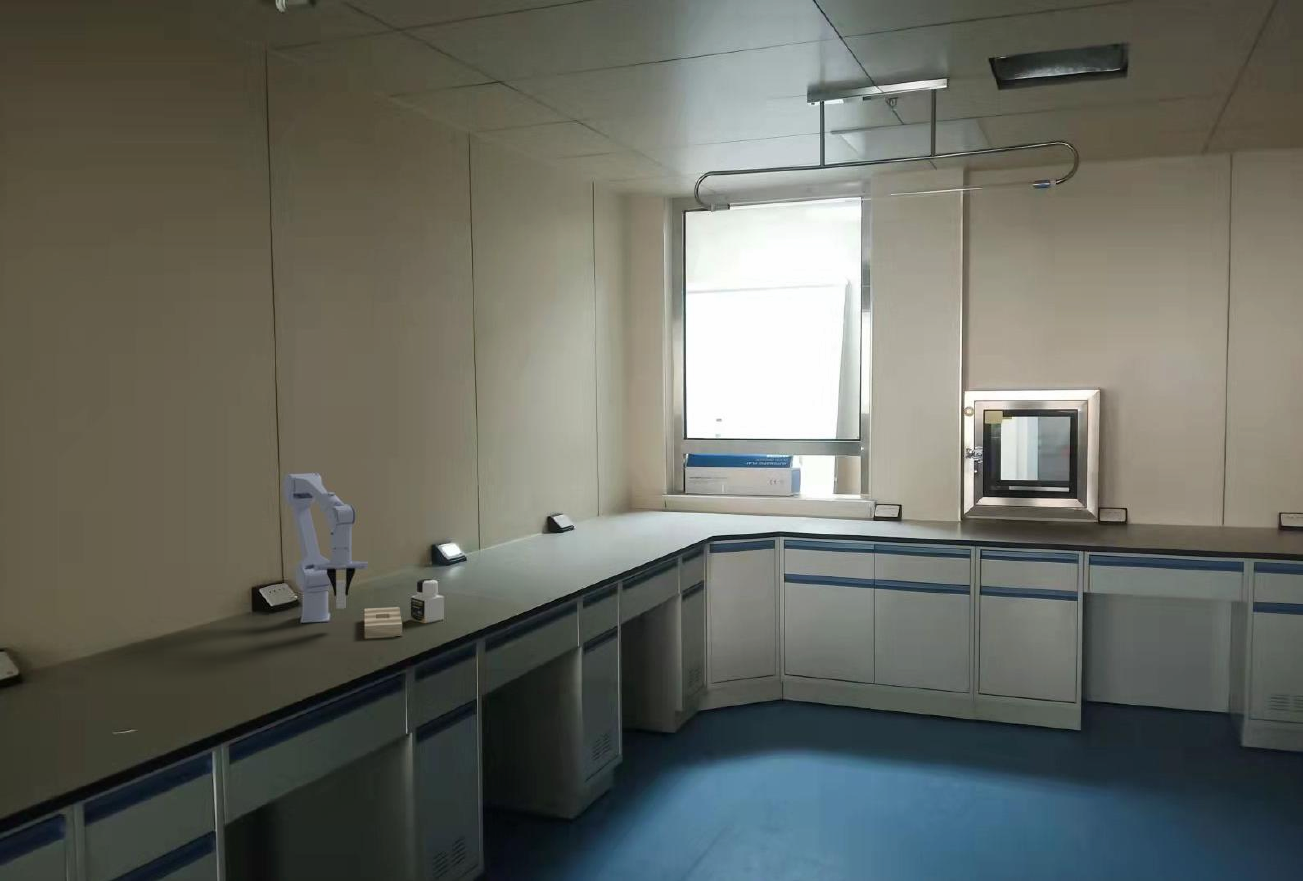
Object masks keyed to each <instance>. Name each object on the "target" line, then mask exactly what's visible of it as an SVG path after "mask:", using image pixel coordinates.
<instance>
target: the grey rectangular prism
mask: <svg viewBox="0 0 1303 881" xmlns="http://www.w3.org/2000/svg"><path fill="white" fill-rule="evenodd" d="M345 591H346V579H341V580H340V579H339V580H337V579H336V596H335V597H336V599H335V600H336V602H335V603H336V605H335V606H336V608H335V609H346V606H347V605H346V604H347V602H346V600H347V599H346V598H347V595H346V596H345Z"/></svg>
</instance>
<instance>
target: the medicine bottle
mask: <svg viewBox="0 0 1303 881" xmlns="http://www.w3.org/2000/svg"><path fill="white" fill-rule="evenodd" d="M438 584H439V583H438V580H436V579H432V578H423V579H420V580H418V581H417V582H416V595H411V596H410V620H411V621H415V622H419V623H421V624H428V623H434V622H439V621H443V620H445V617H444V616H445V598H444V597H445V596H444V595H439V589H438V588H439V585H438ZM442 619H443V620H442ZM438 620H439V621H438Z"/></svg>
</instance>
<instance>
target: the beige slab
mask: <svg viewBox="0 0 1303 881" xmlns="http://www.w3.org/2000/svg"><path fill="white" fill-rule="evenodd" d="M395 636H402V637H403V622H402V615H401V610H400V607H399V606H396V607H395V606H394V607H374V608H370V607H369V608H364V639H380V638H382V639H383V638H396V637H395Z"/></svg>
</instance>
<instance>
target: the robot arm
mask: <svg viewBox="0 0 1303 881" xmlns="http://www.w3.org/2000/svg"><path fill="white" fill-rule="evenodd" d="M282 490H283V494H284V500H285V503H286V504H288V505H289V506H290V508H291V512H292V516H293V520H294V526H295V531H296V534H297V539H298V543H299V547H300V548H299V549H300V552H301V556H302V560H301V561H299V562H298V563H297V565H296V566H295V570H294V571H295V583H296V586H297V588H298V589H299V590H300V591H302V615H301V617H300V623H324V622H329V621H330V619H331V612H329V590H331V587H332V590H333V591H332V592H333V596H334V597H336V584H337V571H338V570H339V571H343V570H344V571H345V580H346V591H345V596H346V597H347V596H349V591H350V590H349V589H350V586H351V583H352V580H353V578H354V576H355V573H356V570H368V568H369V566H368V564H369V563H368V561H352V560H353V559H352V542H353V541H352V539H353V538H352V534H353V533H352V532H353V531H352V525H353V524H355V521H356V515H357V514H356V510H355V508H354V506H353V505H352V504H351V503H349V504H346V503H344V502H343V501H342V500H341V499H340V498H339V497H338V496H337V495H336V494H335V492H333V491H328V490H327V489H326V488H325V486H324V485H323V479H322V476H321V475H320V474H319V473H318V472H312V473H311V472H310V473H309V472H308V473H287V474H286V475H285V476H284V479H283V483H282ZM316 500H317V502H316ZM315 502H316V503H317V507H318V508H319V509H320V510H321V512H322V513H324V515H326V516H325V518H326V522H327V525H328V526H327V527H328V528H327V529H328V532H329V533H330V559H328V558H326V557H324V556H322V555H321V552H320V547H319V544H318V539H317V534H316V531H315V530H316V529H315V527H314V521H313V517H312V513H311V509H310V505H312V504H313V503H315Z"/></svg>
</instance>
